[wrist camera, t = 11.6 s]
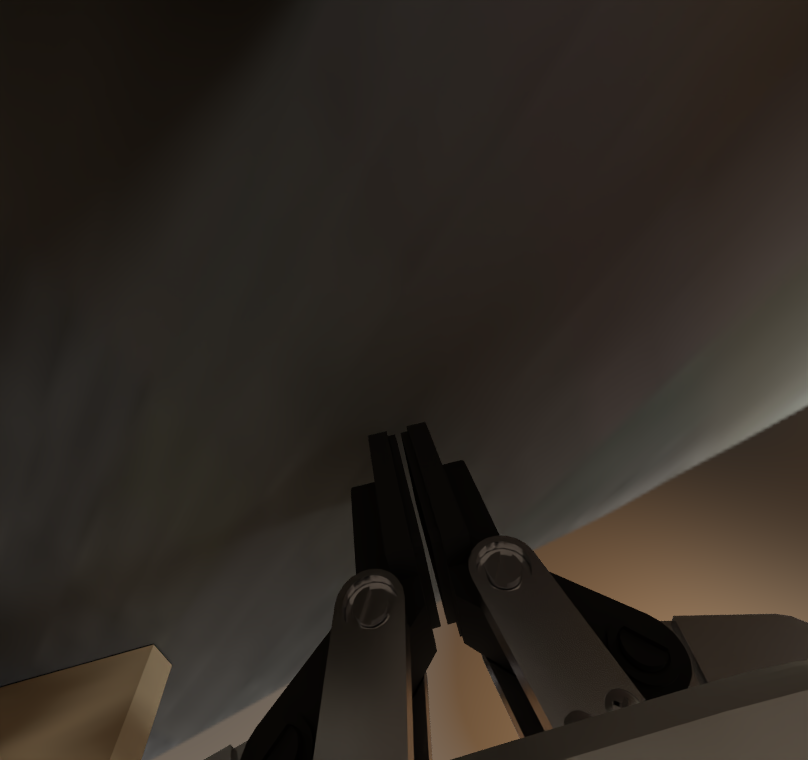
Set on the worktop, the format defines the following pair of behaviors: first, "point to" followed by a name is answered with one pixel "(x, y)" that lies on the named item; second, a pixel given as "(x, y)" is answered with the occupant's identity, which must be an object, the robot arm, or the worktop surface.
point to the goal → (85, 709)
